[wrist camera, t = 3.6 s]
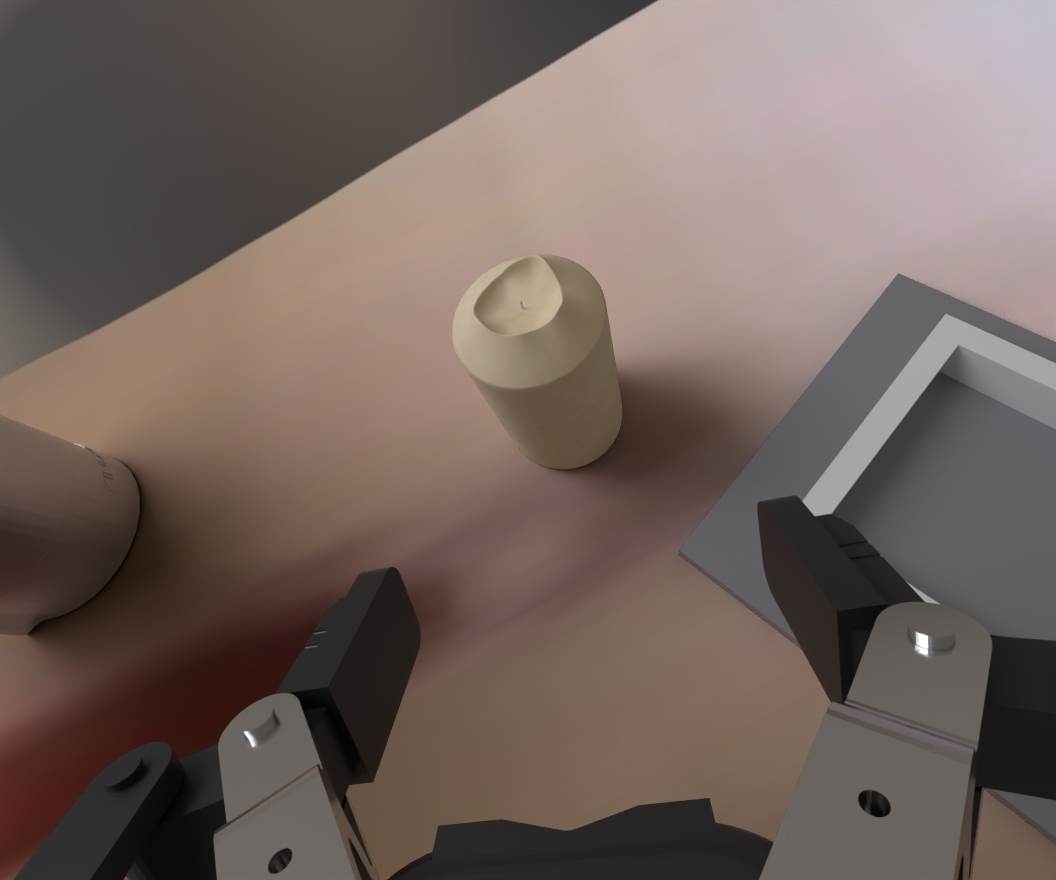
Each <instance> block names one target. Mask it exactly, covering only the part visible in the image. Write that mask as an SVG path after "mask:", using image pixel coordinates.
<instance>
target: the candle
mask: <svg viewBox="0 0 1056 880" xmlns="http://www.w3.org/2000/svg"><path fill="white" fill-rule="evenodd" d="M452 339H453V345H454V348H455V352H456V354H457V356H458V358H459V360H460V362H461V363H462V365H463V366H464V368H465V369H466V371H467V372H468V374H469V375H470V377H471V378H472V380H473V381H474V383H475V384H476V386H477V387H478V388H479V390H480V391H481V393H482V394H483V396H484V397H485V399H486V400H487V402H488V403H489V405H490V406H491V408H492V409H493V411H494V412H495V414H496V415H497V417H498V418H499V420H500V421H501V423H502V424H503V426H504V427H505V429H506V430H507V432H508V433H509V435H510V436H511V438H512V439H513V441H514V442H515V443H516V445H517V446H518V447H519V449H520V450H521V451H522V452H523V453H524V454H525V455H526V456H527V457H529V458H530V459H531V460H533V461H535V462H536V463H538V464H540V465H543V466H545V467H549V468H553V469H574V468H578V467H582V466H584V465H587V464H589V463H591V462H593V461H595V460H596V459H598V458H599V457H601V456H602V455H603V454H604V453H605V452H606V451H607V450H608V449H609V448H610V447H611V445H612V444H613V442H614V441H615V439H616V437H617V435H618V433H619V430H620V427H621V422H622V413H623V409H622V400H621V393H620V387H619V381H618V375H617V369H616V362H615V356H614V350H613V344H612V338H611V332H610V326H609V320H608V314H607V308H606V302H605V298H604V294H603V292H602V289H601V287H600V285H599V284H598V282H597V281H596V279H595V278H594V277H593V276H592V275H591V274H590V272H589V271H587V270H586V269H585V268H584V267H582V266H581V265H579V264H577V263H575V262H574V261H571V260H569V259H566V258H563V257H559V256H554V255H542V254H537V255H527V256H521V257H517V258H513V259H510V260H507V261H505V262H503V263H500V264H499V265H497V266H495V267H493V268H491V269H490V270H489V271H487V272H486V273H484V274H483V275H482V276H481V277H479V278H478V279H477V280H476V281H475V282H474V283H473V284H472V285H471V286H470V288H469V289H468V290H467V291H466V293H465V294H464V296H463V297H462V299H461V301H460V302H459V305H458V307H457V309H456V312H455V315H454V319H453V325H452Z"/></svg>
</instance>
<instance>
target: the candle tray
mask: <svg viewBox="0 0 1056 880" xmlns="http://www.w3.org/2000/svg"><path fill="white" fill-rule="evenodd" d="M792 495H796V496H798V497H799V498H800V499H801V501H802V502H803V503H804V504H805V505H806V506H807V508H808V509H809V510H810V511H811V512H812V514H813V515H814V516H820V515H826V514H831V515H833V516H835V517H838V518H840V519H842V520H844V521H846V522H848V523H850V524H852V525H854V527H855V528H856V529H857V530H858V531H859V532H860V533H861V534H862V535H863V536H864V537H865V538H866V539H867V540H868V544H871V545H872V546H873V547H874V548H875V549H876V550H877V551H878V552H879V553H880V556H881V557H883V558H884V559H885V560H886V561H887V562H888V563H889V564H890V565H891V566H892V567H893V568H894V569H895V570H896V571H897V572H898V574H899V575H900V576H901V577H902V578H903V579H904V580H905V581H906V582H907V583H908V584H909V585H910V586H911V587H912V589H913V590H914V591H915V592H916V593H917V594H918V595H919V596H920V597H921V598H922V599H923V600H924V601H925V602H929V603H935V604H940V605H944V606H948V607H950V608H953V609H956V610H959V611H961V612H963V613H965V614H967V615H969V616H970V617H972V618H974V619H975V620H976V621H978V622H979V623H980V624H981V625H982V626H983V627H984V628H985V629H986V630H987V632H988V633H989V634H990V635H995V636H1004V637H1015V638H1028V639H1040V640H1053V641H1056V342H1054V341H1052V340H1049V339H1047V338H1045V337H1042V336H1040V335H1038V334H1036V333H1033V332H1031V331H1029V330H1026V329H1024V328H1022V327H1020V326H1017V325H1015V324H1013V323H1011V322H1008V321H1006V320H1004V319H1001V318H999V317H997V316H995V315H992V314H990V313H988V312H985V311H983V310H981V309H979V308H976V307H974V306H972V305H969V304H967V303H965V302H963V301H960V300H958V299H956V298H954V297H951V296H949V295H947V294H944V293H942V292H940V291H938V290H935V289H933V288H931V287H928V286H926V285H924V284H922V283H919V282H917V281H915V280H912V279H910V278H908V277H906V276H903V275H901V274H899V273H898V274H897V276H896V277H895V278H894V280H893V281H892V282H891V283H890V285H889V286H888V287H887V288H886V290H885V291H884V292H883V293H882V295H881V296H880V297H879V298H878V300H877V301H876V302H875V303H874V305H873V306H872V307H871V309H870V310H869V311H868V312H867V314H866V315H865V316H864V317H863V319H862V320H861V321H860V322H859V324H858V325H857V326H856V327H855V329H854V330H853V331H852V332H851V334H850V335H849V336H848V338H847V339H846V340H845V341H844V343H843V344H842V345H841V346H840V348H839V349H838V350H837V351H836V353H835V354H834V355H833V356H832V358H831V359H830V360H829V361H828V363H827V364H826V365H825V367H824V368H823V369H822V370H821V372H820V373H819V374H818V375H817V377H816V378H815V379H814V380H813V382H812V383H811V384H810V385H809V387H808V388H807V389H806V390H805V392H804V393H803V394H802V396H801V397H800V398H799V399H798V401H797V402H796V403H795V404H794V406H793V407H792V408H791V409H790V411H789V412H788V413H787V414H786V416H785V417H784V418H783V419H782V421H781V422H780V423H779V425H778V426H777V427H776V428H775V430H774V431H773V432H772V433H771V435H770V436H769V437H768V438H767V440H766V441H765V442H764V443H763V445H762V446H761V447H760V448H759V450H758V451H757V452H756V454H755V455H754V456H753V457H752V459H751V460H750V461H749V462H748V464H747V465H746V466H745V467H744V469H743V470H742V471H741V472H740V474H739V475H738V476H737V477H736V479H735V480H734V481H733V483H732V484H731V485H730V486H729V488H728V489H727V490H726V491H725V493H724V494H723V495H722V496H721V498H720V499H719V500H718V501H717V503H716V504H715V505H714V506H713V508H712V509H711V510H710V512H709V513H708V514H707V515H706V517H705V518H704V519H703V520H702V522H701V523H700V524H699V525H698V527H697V528H696V529H695V530H694V532H693V533H692V534H691V535H690V537H689V538H688V539H687V541H686V542H685V543H684V544H683V546H682V547H681V548H680V549H679V553H678V555H679V556H681V557H682V558H683V559H685V560H686V561H687V562H689V563H690V564H691V565H693V566H694V567H695V568H696V569H698V570H699V571H700V572H702V573H703V574H704V575H706V576H707V577H708V578H709V579H711V580H712V581H713V582H715V583H716V584H717V585H719V586H720V587H721V588H722V589H724V590H725V591H726V592H728V593H729V594H730V595H732V596H733V597H734V598H736V599H737V600H738V601H739V602H741V603H742V604H743V605H745V606H746V607H747V608H749V609H750V610H751V611H752V612H754V613H755V614H756V615H758V616H759V617H760V618H762V619H763V620H764V621H766V622H767V623H768V624H769V625H771V626H772V627H773V628H775V629H776V630H777V631H779V632H780V633H781V634H782V635H784V636H785V637H786V638H788V639H789V640H790V641H792V642H793V643H794V644H795V645H797V646H798V647H799V648H801V647H800V645H799V643H798V641H797V639H796V637H795V636H794V634H793V632H792V630H791V628H790V626H789V625H788V623H787V621H786V619H785V617H784V615H783V614H782V612H781V610H780V608H779V606H778V604H777V603H776V601H775V599H774V597H773V595H772V593H771V591H770V588H769V586H768V583H767V579H766V576H765V572H764V567H763V559H762V550H761V541H760V532H759V523H758V514H757V504H758V502H759V501H764V500H770V499H775V498H781V497H787V496H792ZM801 649H802V648H801ZM984 790H986V791H987V792H988V793H990V794H991V795H992V796H994V797H995V798H996V799H998V800H999V801H1000V802H1001V803H1003V804H1004V805H1005V806H1007V807H1008V808H1009V809H1011V810H1012V811H1013V812H1014V813H1016V814H1017V815H1018V816H1020V817H1021V818H1022V819H1024V820H1025V821H1026V822H1027V823H1029V824H1030V825H1031V826H1033V827H1034V828H1035V829H1037V830H1038V831H1039V832H1041V833H1042V834H1043V835H1044V836H1046V837H1047V838H1048V839H1050V840H1051V841H1052V842H1054V843H1055V844H1056V800H1050V799H1045V798H1039V797H1033V796H1028V795H1022V794H1016V793H1011V792H1005V791H999V790H994V789H988V788H984Z"/></svg>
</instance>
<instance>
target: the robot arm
mask: <svg viewBox="0 0 1056 880" xmlns="http://www.w3.org/2000/svg"><path fill="white" fill-rule="evenodd" d="M139 514H140V495H139V491H138V487H137V482H136V480H135V479H134V477H133V475H132V473H131V471H130V470H129V469H128V468H127V467H126V466H125V465H124V464H123V463H122V462H120V461H117V460H115V459H113V458H111V457H109V456H106V455H103V454H101V453H98V452H95V451H93V450H92V449H90V448H87V447H85V446H82V445H79V444H76V443H72V442H69V441H66V440H64V439H61V438H58V437H56V436H53V435H51V434H48V433H46V432H43V431H41V430H38V429H35V428H33V427H30V426H27V425H25V424H22V423H19V422H17V421H14V420H12V419H9V418H6V417H4V416H1V415H0V634H5V635H26V634H28V633H29V632H30V631H31V630H32V629H33V628H34V627H35V626H36V625H37V624H38V623H40V622H41V621H44V620H47V619H50V618H54V617H58V616H62V615H64V614H66V613H68V612H70V611H72V610H74V609H76V608H78V607H80V606H81V605H83V604H84V603H85V602H87V601H88V600H89V599H91V598H92V597H93V596H95V595H96V594H97V593H98V592H99V591H100V590H101V589H102V588H103V586H104V585H105V584H106V583H107V582H108V581H109V580H110V579H111V577H112V576H113V575H114V573H115V572H116V571H117V569H118V568H119V567H120V565H121V563H122V562H123V560H124V558H125V556H126V554H127V552H128V550H129V548H130V546H131V544H132V541H133V538H134V535H135V532H136V530H137V524H138V519H139ZM757 514H758V523H759V532H760V541H761V550H762V559H763V567H764V572H765V576H766V579H767V583H768V586H769V588H770V591H771V593H772V595H773V597H774V599H775V601H776V603H777V604H778V606H779V608H780V610H781V612H782V614H783V615H784V617H785V619H786V621H787V623H788V625H789V626H790V628H791V630H792V632H793V634H794V636H795V637H796V639H797V641H798V643H799V645H800V647H801V648H802V650H803V652H804V654H805V656H806V658H807V659H808V661H809V663H810V665H811V667H812V669H813V670H814V672H815V674H816V676H817V678H818V679H819V681H820V683H821V685H822V687H823V689H824V690H825V692H826V694H827V696H828V698H829V700H830V701H831V704H830V705H829V707H828V709H827V711H826V713H825V716H824V718H823V721H822V723H821V726H820V728H819V731H818V733H817V736H816V738H815V741H814V743H813V746H812V748H811V751H810V753H809V756H808V758H807V761H806V763H805V766H804V768H803V771H802V773H801V776H800V778H799V781H798V783H797V786H796V788H795V791H794V793H793V796H792V798H791V801H790V803H789V806H788V808H787V811H786V813H785V816H784V818H783V821H782V823H781V826H780V828H779V831H778V833H777V836H776V838H775V841H774V843H773V842H772V841H770V840H768V839H766V838H764V837H761V836H759V835H757V834H754V833H752V832H749V831H747V830H743V829H740V828H736V827H733V826H729V825H724V824H719V823H715V819H714V815H713V811H712V807H711V803H710V799H709V798H706V799H696V800H686V801H676V802H667V803H657V804H647V805H639V806H636V807H633V808H631V809H628V810H625V811H623V812H620V813H617V814H615V815H612V816H609V817H607V818H604V819H601V820H599V821H596V822H593V823H591V824H588V825H585V826H583V827H580V828H577V829H574V830H569V831H564V830H557V829H551V828H546V827H540V826H535V825H529V824H524V823H518V822H513V821H507V820H502V819H500V820H491V821H481V822H471V823H461V824H452V825H442V826H438V830H437V834H436V839H435V844H434V848H433V852H431V853H429V854H426V855H424V856H423V857H421V858H419V859H417V860H415V861H413V862H411V863H410V864H408V865H407V866H405V867H404V868H402V869H401V870H399V871H398V872H396V873H395V874H394V875H392V876H391V877H390V878H389V879H387V880H972V874H973V867H974V859H975V851H976V844H977V836H978V828H979V821H980V813H981V806H982V798H983V790H984V788H988V789H994V790H999V791H1005V792H1011V793H1016V794H1022V795H1028V796H1033V797H1039V798H1045V799H1050V800H1056V641H1053V640H1040V639H1028V638H1015V637H1004V636H995V635H990V634H989V633H988V632H987V630H986V629H985V628H984V627H983V626H982V625H981V624H980V623H979V622H978V621H976V620H975V619H974V618H972V617H970V616H969V615H967V614H965V613H963V612H961V611H959V610H956V609H953V608H950V607H948V606H944V605H940V604H935V603H929V602H925V601H924V600H923V599H922V598H921V597H920V596H919V595H918V594H917V593H916V592H915V591H914V590H913V589H912V587H911V586H910V585H909V584H908V583H907V582H906V581H905V580H904V579H903V578H902V577H901V576H900V575H899V574H898V572H897V571H896V570H895V569H894V568H893V567H892V566H891V565H890V564H889V563H888V562H887V561H886V560H885V559H884V558H883V557H881V556H880V553H879V552H878V551H877V550H876V549H875V548H874V547H873V546H872V545H871V544H868V540H867V539H866V538H865V537H864V536H863V535H862V534H861V533H860V532H859V531H858V530H857V529H856V528H855V527H854V525H852V524H850V523H848V522H846V521H844V520H842V519H840V518H838V517H835V516H833V515H831V514H826V515H820V516H814V515H813V514H812V512H811V511H810V510H809V509H808V508H807V506H806V505H805V504H804V503H803V502H802V501H801V499H800V498H799V497H798V496H796V495H792V496H787V497H781V498H775V499H770V500H764V501H759V502H758V504H757ZM313 632H314V634H313V635H311V636H310V638H309V639H308V641H307V643H306V644H305V649H302V651H301V652H300V654H299V656H298V657H297V659H296V660H295V662H294V664H293V665H292V667H291V669H290V670H289V672H288V673H287V675H286V677H285V678H284V680H283V681H282V683H281V685H280V686H279V688H278V690H277V691H276V693H275V694H274V695H271V696H268V697H265V698H263V699H261V700H259V701H257V702H255V703H253V704H252V705H250V706H249V707H247V708H246V709H244V710H243V711H242V712H241V713H239V714H238V715H237V716H236V717H235V718H234V719H233V720H232V721H231V722H230V723H229V725H228V726H227V727H226V729H225V730H224V732H223V733H222V735H221V738H220V740H219V744H216V745H214V746H211V747H209V748H206V749H204V750H201V751H199V752H196V753H193V754H191V755H188V756H186V757H183V758H181V759H178V758H177V756H176V754H175V753H174V751H173V750H172V748H171V747H170V745H169V744H168V743H165V742H160V741H157V742H151V743H147V744H144V745H141V746H139V747H137V748H135V749H132V750H131V751H129V752H127V753H125V754H124V755H122V756H121V757H119V758H118V759H116V760H115V761H113V762H112V763H111V764H109V765H108V766H107V767H106V768H105V769H104V770H102V771H101V772H100V773H99V774H98V775H97V776H96V777H95V778H94V779H93V781H92V782H91V783H90V784H89V785H88V787H87V788H86V789H85V790H84V792H83V793H82V794H81V795H80V797H79V798H78V799H77V800H76V802H75V803H74V804H73V805H72V807H71V808H70V809H69V810H68V812H67V813H66V814H65V815H64V817H63V818H62V819H61V820H60V822H59V823H58V824H57V825H56V827H55V828H54V829H53V831H52V832H51V833H50V834H49V836H48V837H47V838H46V839H45V841H44V842H43V843H42V844H41V846H40V847H39V848H38V849H37V851H36V852H35V853H34V854H33V856H32V857H31V858H30V859H29V861H28V862H27V863H26V864H25V866H24V867H23V868H22V869H21V871H20V872H19V873H18V874H17V876H16V877H15V878H14V879H13V880H123V879H124V878H125V876H126V877H127V878H128V879H129V880H380V877H379V875H378V872H377V869H376V867H375V864H374V862H373V859H372V856H371V854H370V851H369V849H368V846H367V843H366V841H365V838H364V836H363V833H362V830H361V828H360V825H359V822H358V820H357V817H356V815H355V812H354V809H353V807H352V805H351V803H350V801H349V799H348V797H347V795H346V791H347V789H348V786H349V785H352V784H361V783H370V782H373V781H374V778H375V775H376V773H377V770H378V767H379V764H380V761H381V758H382V755H383V752H384V749H385V747H386V744H387V741H388V738H389V735H390V732H391V729H392V726H393V723H394V720H395V718H396V715H397V712H398V709H399V706H400V703H401V700H402V697H403V694H404V691H405V689H406V686H407V683H408V680H409V677H410V674H411V671H412V668H413V665H414V663H415V660H416V657H417V654H418V651H419V647H420V628H419V623H418V620H417V617H416V614H415V612H414V609H413V607H412V604H411V601H410V599H409V596H408V594H407V591H406V588H405V586H404V583H403V580H402V578H401V575H400V573H399V572H398V570H397V569H396V568H394V567H390V568H384V569H378V570H373V571H367V572H362V573H361V574H359V576H358V577H357V579H356V581H355V582H354V584H353V586H352V588H351V589H350V591H349V593H348V594H347V596H346V597H344V598H341V599H340V600H339V601H338V602H337V603H336V604H334V605H333V606H332V607H331V608H330V609H329V610H328V611H327V612H326V613H325V614H324V615H323V617H322V618H321V620H320V622H319V623H318V625H317V626H316V628H315V630H314V631H313Z"/></svg>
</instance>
